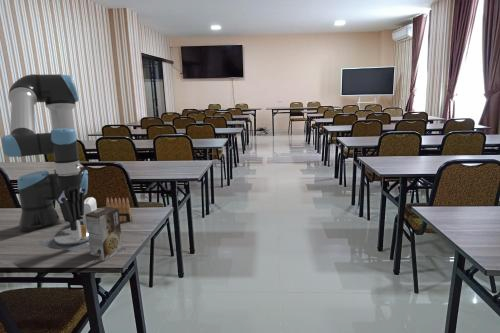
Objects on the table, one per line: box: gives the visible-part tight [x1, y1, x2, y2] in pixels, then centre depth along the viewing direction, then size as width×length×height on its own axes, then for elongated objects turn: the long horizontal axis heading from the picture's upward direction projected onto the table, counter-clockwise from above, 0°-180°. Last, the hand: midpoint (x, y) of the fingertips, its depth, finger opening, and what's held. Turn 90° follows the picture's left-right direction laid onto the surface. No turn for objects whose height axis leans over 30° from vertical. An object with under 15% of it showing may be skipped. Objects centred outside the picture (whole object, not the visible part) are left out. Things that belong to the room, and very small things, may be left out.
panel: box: [38, 237, 90, 252], centre depth 131 cm, size 18×17×2 cm
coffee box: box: [86, 205, 124, 262], centre depth 119 cm, size 9×6×16 cm
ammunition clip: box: [106, 197, 133, 224], centre depth 148 cm, size 11×2×12 cm, turn 85°
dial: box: [53, 224, 89, 246], centre depth 130 cm, size 14×14×6 cm
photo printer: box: [81, 196, 98, 226], centre depth 146 cm, size 10×4×12 cm, turn 11°
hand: (77, 237), depth 123 cm, fingers closed
